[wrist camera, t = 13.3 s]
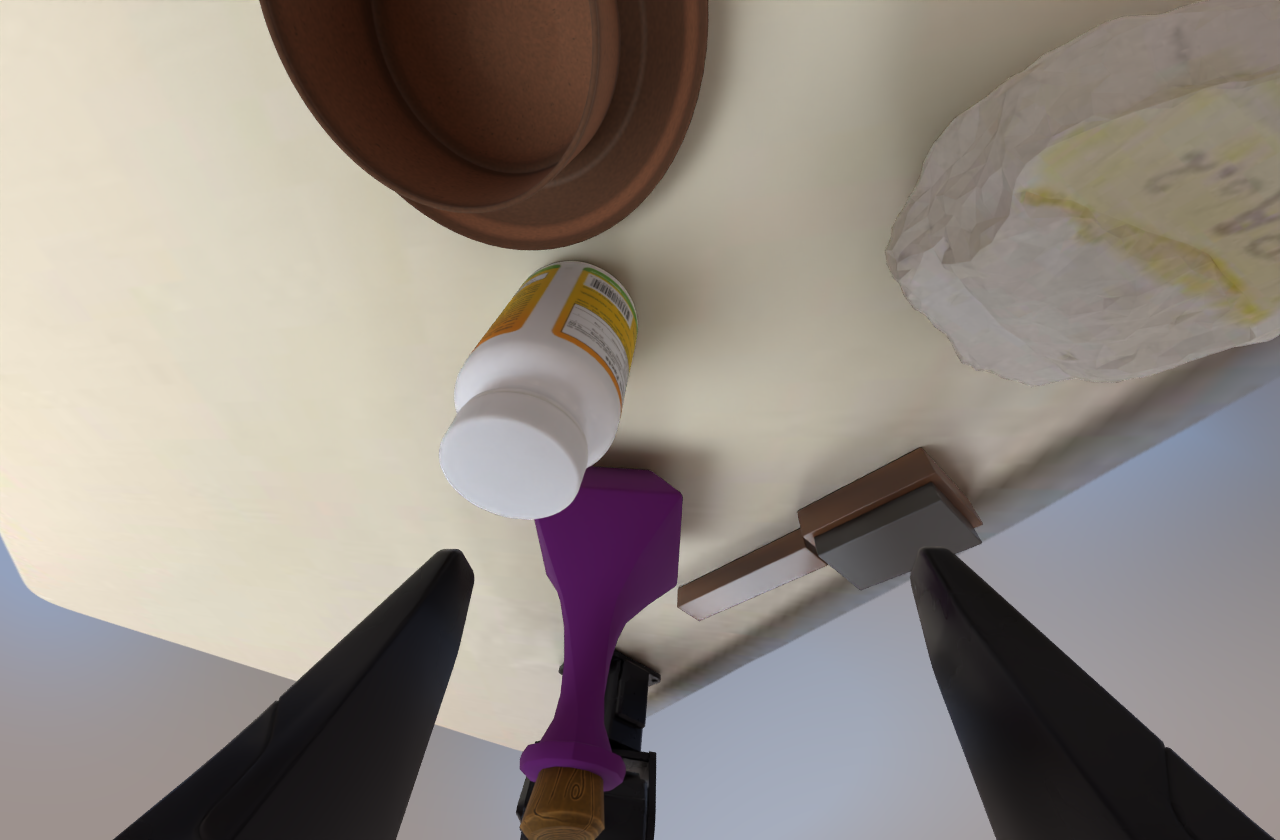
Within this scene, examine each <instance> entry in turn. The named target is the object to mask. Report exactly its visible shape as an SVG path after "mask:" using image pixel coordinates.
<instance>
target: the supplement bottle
mask: <svg viewBox="0 0 1280 840" xmlns="http://www.w3.org/2000/svg"><path fill="white" fill-rule="evenodd" d="M637 333H638V318H637V313H636V309H635V306H634V304H633V301H632V299H631V297H630V296H629V294H628V292H627V291H626V289H625V288H624V287H623V286H622V284H621V283H620V282H619V281H618V280H617V279H616V278H614V277H613V276H612V275H611V274H609V273H608V272H606V271H604V270H603V269H601V268H599V267H597V266H594V265H592V264H588V263H584V262H578V261H562V262H556V263H553V264H550V265H547V266H545V267H543V268H541V269H539V270H537V271H536V272H535V273H533V274H532V275H531V276H530V277H529V278H528V279H527V280H526V281H525V282H524V283H523V285H522V286H521V287H520V288H519V290H518V291H517V292H516V294H515V295H514V296H513V298H512V300H511V301H510V302H509V303H508V305H507V306H506V308H505V309H504V310H503V312H502V313H501V314H500V315H499V317H498V318H497V319H496V321H495V322H494V323H493V324H492V326H491V327H490V329H489V330H488V331H487V333H486V334H485V335H484V337H483V338H482V339H481V340H480V342H479V343H478V345H477V346H476V347H475V348H474V350H473V351H472V352H471V354H470V355H469V357H468V358H467V359H466V361H465V363H464V364H463V366H462V368H461V370H460V371H459V374H458V376H457V380H456V385H455V391H454V401H455V408H456V412H457V415H456V416H455V418H454V420H453V422H452V424H451V425H450V427H449V428H448V430H447V432H446V433H445V435H444V437H443V439H442V441H441V444H440V449H439V460H440V465H441V468H442V471H443V473H444V475H445V477H446V479H447V480H448V482H449V483H450V484H451V485H452V487H453V488H454V489H455V490H456V491H457V492H458V493H459V494H460V495H462V496H463V497H464V498H465V499H467V500H468V501H469V502H471V503H472V504H474V505H476V506H478V507H480V508H482V509H484V510H486V511H488V512H491V513H494V514H496V515H500V516H504V517H508V518H514V519H539V518H544V517H548V516H551V515H554V514H556V513H559V512H560V511H562V510H563V509H565V508H566V507H567V506H569V505H570V504H571V503H572V501H573V500H574V499H575V497H576V495H577V493H578V491H579V488H580V485H581V482H582V479H583V476H584V473H585V471H586V468H588V467H590V466H591V465H593V464H594V463H596V462H597V461H598V460H599V459H600V458H601V457H602V456H603V455H604V454H605V453H606V452H607V450H608V449H609V447H610V446H611V444H612V442H613V440H614V438H615V435H616V432H617V429H618V425H619V422H620V418H621V412H622V407H623V401H624V396H625V391H626V386H627V382H628V377H629V372H630V367H631V363H632V358H633V354H634V349H635V344H636V339H637Z"/></svg>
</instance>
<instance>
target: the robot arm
mask: <svg viewBox="0 0 1280 840" xmlns="http://www.w3.org/2000/svg"><path fill="white" fill-rule="evenodd" d="M910 579H911V586H912V590H913V594H914V598H915V602H916V605H917V610H918V614H919V618H920V622H921V625H922V629H923V634H924V638H925V642H926V645H927V649H928V653H929V657H930V661H931V664H932V668H933V671H934V674H935V676H936V680H937V683H938V685H939V688H940V690H941V693H942V696H943V699H944V701H945V704H946V706H947V709H948V711H949V714H950V717H951V720H952V722H953V725H954V728H955V730H956V733H957V736H958V738H959V741H960V743H961V746H962V749H963V752H964V754H965V757H966V760H967V762H968V765H969V768H970V770H971V773H972V776H973V778H974V781H975V784H976V786H977V789H978V791H979V794H980V797H981V800H982V802H983V805H984V808H985V810H986V813H987V816H988V818H989V821H990V824H991V826H992V829H993V832H994V834H995V837H996V840H1275V839H1274V838H1272V837H1271V836H1270V835H1269V834H1268V833H1266V832H1265V831H1264V830H1263V829H1262V828H1260V827H1259V826H1258V825H1257V824H1256V823H1254V822H1253V821H1252V820H1251V819H1250V818H1248V817H1247V816H1246V815H1245V814H1244V813H1243V812H1242V811H1241V810H1239V809H1238V808H1237V807H1236V806H1235V805H1234V804H1233V803H1231V802H1230V801H1229V800H1228V799H1227V798H1226V797H1224V796H1223V795H1222V794H1221V793H1220V792H1219V791H1218V790H1216V789H1215V788H1214V787H1213V786H1212V785H1211V784H1210V783H1209V782H1207V781H1206V780H1205V779H1204V778H1203V777H1202V776H1201V775H1199V774H1198V773H1197V772H1196V771H1195V770H1194V769H1193V768H1192V767H1191V766H1189V765H1188V764H1187V763H1186V762H1185V761H1184V760H1183V759H1181V758H1180V757H1179V756H1178V755H1177V754H1176V753H1175V752H1174V751H1173V750H1172V749H1170V748H1168V747H1165V746H1164V743H1163V742H1162V741H1161V740H1160V739H1159V738H1158V737H1157V736H1156V735H1154V733H1152V732H1151V731H1150V730H1149V729H1148V728H1147V727H1146V726H1145V725H1144V724H1143V723H1141V722H1140V721H1139V720H1138V719H1137V718H1136V717H1135V716H1134V715H1132V714H1131V713H1130V712H1129V711H1128V710H1127V709H1126V708H1125V707H1124V706H1123V705H1121V704H1120V703H1119V702H1118V701H1117V700H1116V699H1115V698H1114V697H1113V696H1111V695H1110V694H1109V693H1108V692H1107V691H1106V690H1105V689H1104V688H1103V687H1102V686H1100V685H1099V684H1098V683H1097V682H1096V681H1095V680H1094V679H1093V678H1091V677H1090V676H1089V675H1088V674H1087V673H1086V672H1085V671H1084V670H1082V668H1080V667H1079V666H1078V665H1077V664H1076V663H1075V662H1074V661H1073V660H1072V659H1070V658H1069V657H1068V656H1067V655H1066V654H1065V653H1064V652H1063V651H1062V650H1060V649H1059V648H1058V647H1057V646H1056V645H1055V644H1054V643H1052V641H1050V640H1049V639H1048V638H1047V637H1046V636H1045V635H1044V634H1043V633H1042V632H1040V631H1039V630H1038V629H1037V628H1036V627H1035V626H1034V625H1033V624H1031V623H1030V622H1029V621H1028V620H1027V619H1026V618H1025V617H1024V616H1023V615H1022V614H1021V613H1019V612H1018V611H1017V610H1016V609H1015V608H1014V607H1013V606H1012V605H1010V604H1009V603H1008V602H1007V601H1006V600H1005V599H1004V598H1003V597H1002V596H1001V595H999V594H998V593H997V592H996V591H995V590H994V589H993V588H992V587H991V586H989V585H988V584H987V583H986V582H985V581H984V580H983V579H982V578H981V577H979V576H978V575H977V574H976V573H975V572H974V571H973V570H972V569H971V568H969V567H968V566H967V565H966V564H965V563H964V562H963V561H961V560H960V559H959V558H958V557H957V556H956V555H955V554H954V553H953V552H952V551H951V550H949V549H948V548H945V547H941V546H932V547H922V548H920V549H919V551H918V553H917V556H916V559H915V562H914V565H913V568H912V571H911V576H910ZM473 585H474V573H473V570H472V568H471V567H470V565H469V563H468V561H467V560H466V558H465V556H464V554H463V553H462V551H460V550H459V549H443V550H440V551H438V552H437V553H436V554H434V555H433V556H432V557H431V558H430V559H429V560H428V561H427V562H426V563H425V564H424V565H422V566H421V567H420V568H419V569H418V570H417V571H416V572H415V573H414V574H413V575H412V576H411V577H409V578H408V579H407V580H406V581H405V582H404V583H403V584H402V585H401V586H400V587H399V588H398V589H396V590H395V591H394V592H393V593H392V594H391V595H390V596H389V597H388V598H387V599H386V600H385V601H383V602H382V603H381V604H380V605H379V606H378V607H377V608H376V609H375V610H374V611H373V612H372V613H370V614H369V615H368V616H367V617H366V618H365V619H364V620H363V621H362V622H361V623H360V624H358V625H357V626H356V627H355V628H354V629H353V630H352V631H351V632H350V633H349V634H348V635H347V636H345V637H344V638H343V639H342V640H341V641H340V642H339V643H338V644H337V645H336V646H335V647H334V648H332V649H331V650H330V651H329V652H328V653H327V654H326V655H325V656H324V657H323V658H322V659H321V660H319V661H318V662H317V663H316V664H315V665H314V666H313V667H312V668H311V669H310V670H309V671H308V672H306V673H305V674H304V675H303V676H302V677H301V678H300V679H299V680H298V681H297V682H296V683H295V684H294V685H292V686H291V687H290V688H289V689H288V690H287V691H286V692H285V693H284V694H283V695H282V696H281V697H280V698H279V701H275V702H274V703H273V704H272V705H270V706H269V707H268V708H267V709H266V710H265V711H264V712H263V713H262V714H261V715H260V716H259V717H257V719H255V720H254V721H253V722H252V723H251V724H250V725H249V726H248V727H246V728H245V729H244V730H243V731H242V732H241V733H240V734H239V735H237V736H236V737H235V738H234V739H233V740H232V741H231V742H230V743H228V744H227V745H226V746H225V747H224V748H223V749H222V750H220V751H219V752H218V753H217V754H216V755H215V756H213V757H212V758H211V759H210V760H209V761H207V762H206V763H205V764H204V765H203V766H201V767H200V768H199V769H198V770H197V771H196V772H194V773H193V774H192V775H191V776H190V777H188V778H187V779H186V780H185V781H184V782H182V783H181V784H180V785H179V786H177V788H175V789H174V790H173V791H171V792H170V793H169V794H168V795H167V796H166V797H164V798H163V799H162V800H160V801H159V802H158V803H157V804H156V805H154V806H153V807H152V808H151V809H150V810H148V811H147V812H146V813H145V814H144V815H142V816H141V817H140V818H139V819H137V820H136V821H135V822H134V823H133V824H131V825H130V826H129V827H128V828H127V829H125V830H124V831H123V832H122V833H120V834H119V835H118V836H117V837H116V838H115V839H113V840H396V837H397V834H398V831H399V828H400V825H401V823H402V820H403V816H404V814H405V811H406V807H407V805H408V802H409V798H410V795H411V792H412V790H413V787H414V783H415V781H416V778H417V775H418V772H419V768H420V766H421V763H422V760H423V757H424V753H425V751H426V747H427V745H428V741H429V738H430V736H431V733H432V730H433V727H434V724H435V721H436V718H437V715H438V712H439V709H440V706H441V703H442V700H443V697H444V694H445V691H446V688H447V685H448V682H449V679H450V676H451V673H452V670H453V667H454V664H455V660H456V657H457V654H458V650H459V646H460V642H461V638H462V634H463V629H464V625H465V620H466V616H467V611H468V607H469V603H470V598H471V594H472V589H473ZM563 667H564V664H563V665H561V666H560V668H559V673H560V674H561V675H563ZM660 680H661V676H660V674H658V673H656V672H654V671H652V670H651V669H649V668H647V667H645V666H643V665H641V664H640V663H638V662H636V661H634V660H632V659H630V658H629V657H627V656H625V655H623V654H621V653H619V652H618V651H616V650H614V652H613V656H612V659H611V662H610V667H609V673H608V678H607V684H606V689H605V695H604V725H605V729H606V732H607V736H608V739H609V743H610V747H611V750H612V753H614V754H617V755H619V756H621V758H622V760H623V762H624V763H625V765H626V773H625V776H624V780H623V782H622V783H621V784H619V785H618V786H617V787H615V788H614V789H612V790H610V791H604V830H603V831H602V832H601V833H600V834H599V835H598V836H597V838H596V839H595V840H654V831H655V812H656V809H655V808H656V753H655V752H649V753H647V752H641V742H642V729H643V728H644V727H645V720H646V708H647V695H648V687H649V686H651V685H654V684H657V683H659V682H660ZM539 742H540V741H536V742H535V743H539ZM534 785H535V782H533V781H530V780H529V778H528V777H527V776H526V779H525V782H524V785H523V789H522V792H521V795H520V799H519V802H518V805H517V810H516V814H517V816H518V818H519V820H520V822H522V819H523V816H524V813H525V811H526V808H527V805H528V802H529V799H530V796H531V794H532V791H533V788H534ZM520 830H521V829H520ZM520 840H529V839H528V838H527V837H526V836H525V834H524V833H523V832H522V830H521V838H520Z"/></svg>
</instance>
